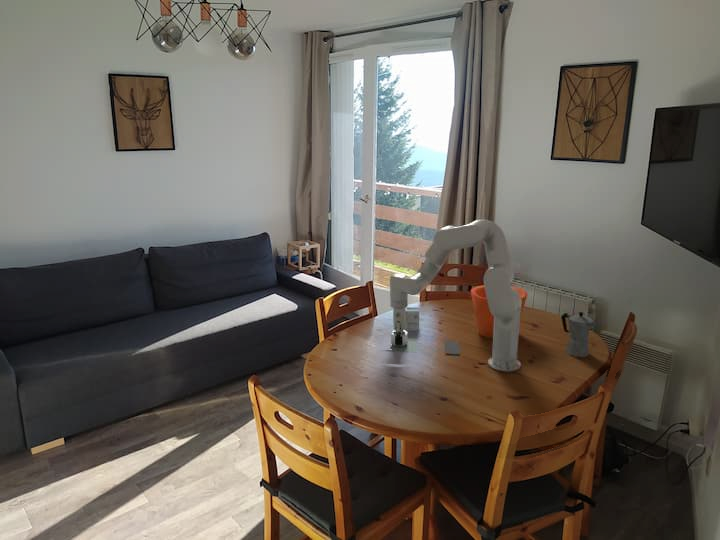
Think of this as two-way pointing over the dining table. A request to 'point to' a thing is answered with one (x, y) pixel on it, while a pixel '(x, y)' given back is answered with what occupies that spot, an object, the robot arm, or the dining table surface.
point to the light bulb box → (412, 319)
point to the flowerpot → (488, 310)
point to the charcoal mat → (452, 347)
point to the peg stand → (406, 346)
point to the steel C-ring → (404, 334)
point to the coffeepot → (578, 334)
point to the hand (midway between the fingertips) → (399, 341)
